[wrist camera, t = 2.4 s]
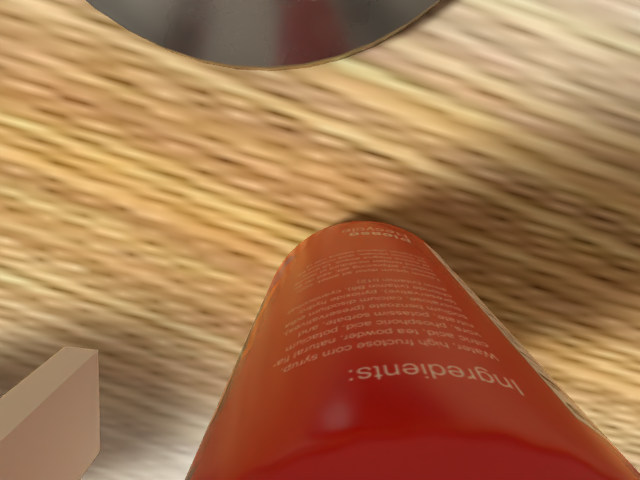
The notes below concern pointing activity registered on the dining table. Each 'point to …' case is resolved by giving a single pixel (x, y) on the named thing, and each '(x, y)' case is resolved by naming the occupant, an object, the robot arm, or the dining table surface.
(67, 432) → the robot arm
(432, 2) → the bolted flange plate
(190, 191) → the dining table surface
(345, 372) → the soda can
